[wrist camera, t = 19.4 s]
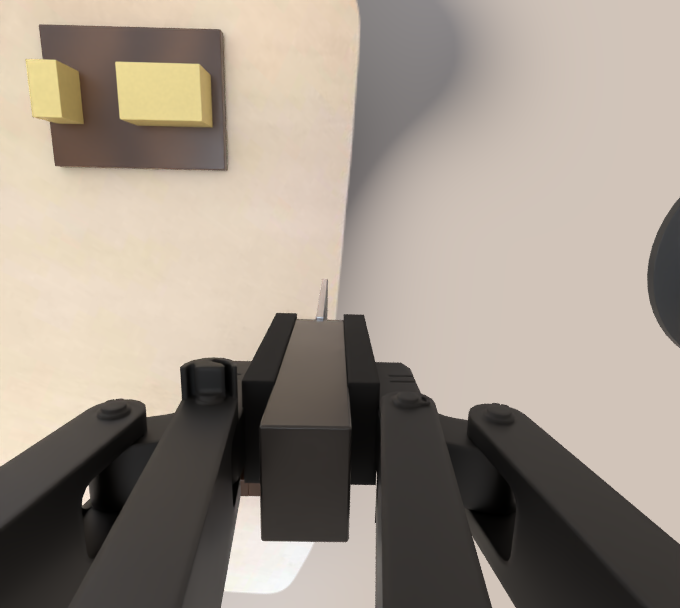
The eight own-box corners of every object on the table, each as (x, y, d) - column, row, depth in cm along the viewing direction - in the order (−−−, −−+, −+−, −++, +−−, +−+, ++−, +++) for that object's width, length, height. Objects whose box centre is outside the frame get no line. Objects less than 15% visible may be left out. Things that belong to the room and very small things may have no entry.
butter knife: (341, 279, 24) (352, 422, 9) (340, 329, 25) (348, 547, 9) (307, 278, 24) (258, 421, 9) (307, 329, 25) (260, 546, 9)
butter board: (223, 33, 41) (220, 29, 40) (227, 170, 44) (225, 169, 43) (45, 28, 41) (38, 24, 40) (60, 166, 44) (54, 165, 43)
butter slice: (78, 71, 41) (55, 59, 38) (84, 124, 42) (61, 117, 39) (50, 70, 41) (25, 58, 38) (56, 123, 42) (32, 116, 39)
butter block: (210, 74, 41) (199, 63, 38) (212, 127, 42) (202, 121, 39) (133, 72, 41) (114, 61, 38) (136, 125, 42) (119, 119, 39)
